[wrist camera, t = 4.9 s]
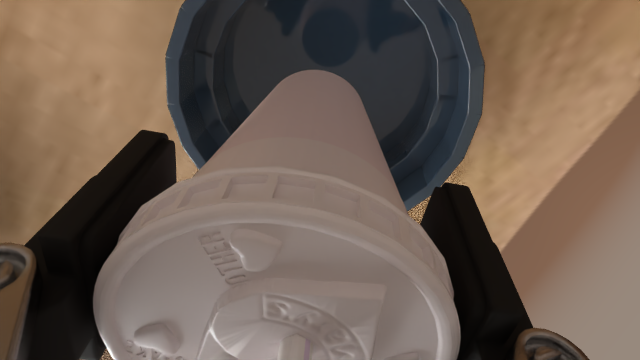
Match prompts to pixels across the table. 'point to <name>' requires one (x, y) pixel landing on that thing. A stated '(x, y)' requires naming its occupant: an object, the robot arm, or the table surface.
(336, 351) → the smoothie
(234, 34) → the dish
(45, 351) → the robot arm
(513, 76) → the table surface
